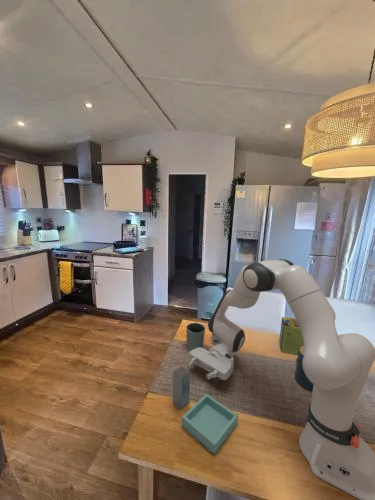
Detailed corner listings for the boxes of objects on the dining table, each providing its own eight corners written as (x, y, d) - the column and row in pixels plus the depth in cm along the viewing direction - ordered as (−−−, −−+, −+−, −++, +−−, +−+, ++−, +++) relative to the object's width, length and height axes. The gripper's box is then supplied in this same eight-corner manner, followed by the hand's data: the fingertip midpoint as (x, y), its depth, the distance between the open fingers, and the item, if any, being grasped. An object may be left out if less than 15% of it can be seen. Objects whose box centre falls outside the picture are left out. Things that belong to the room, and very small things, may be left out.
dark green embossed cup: (187, 341, 133) (187, 321, 130) (205, 343, 131) (205, 323, 129) (184, 352, 123) (185, 331, 120) (203, 354, 121) (204, 333, 119)
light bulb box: (224, 346, 129) (225, 328, 127) (211, 344, 130) (212, 326, 128) (224, 335, 139) (226, 318, 137) (213, 334, 140) (214, 317, 138)
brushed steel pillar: (189, 402, 92) (190, 371, 89) (181, 409, 89) (181, 377, 86) (180, 396, 95) (181, 365, 92) (172, 402, 92) (173, 371, 89)
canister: (293, 385, 102) (298, 349, 99) (295, 367, 113) (299, 334, 110) (327, 397, 96) (334, 359, 93) (326, 377, 107) (331, 342, 104)
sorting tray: (237, 424, 83) (238, 415, 83) (214, 455, 73) (214, 444, 72) (206, 402, 92) (206, 393, 92) (181, 426, 82) (181, 416, 81)
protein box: (312, 357, 121) (316, 330, 118) (280, 352, 125) (283, 325, 122) (308, 346, 131) (311, 320, 128) (278, 341, 135) (281, 316, 132)
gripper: (200, 340, 114) (180, 353, 104) (237, 360, 101) (218, 377, 91) (199, 352, 115) (180, 366, 105) (236, 373, 102) (217, 391, 92)
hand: (198, 371), depth 98 cm, fingers open, 8 cm apart
